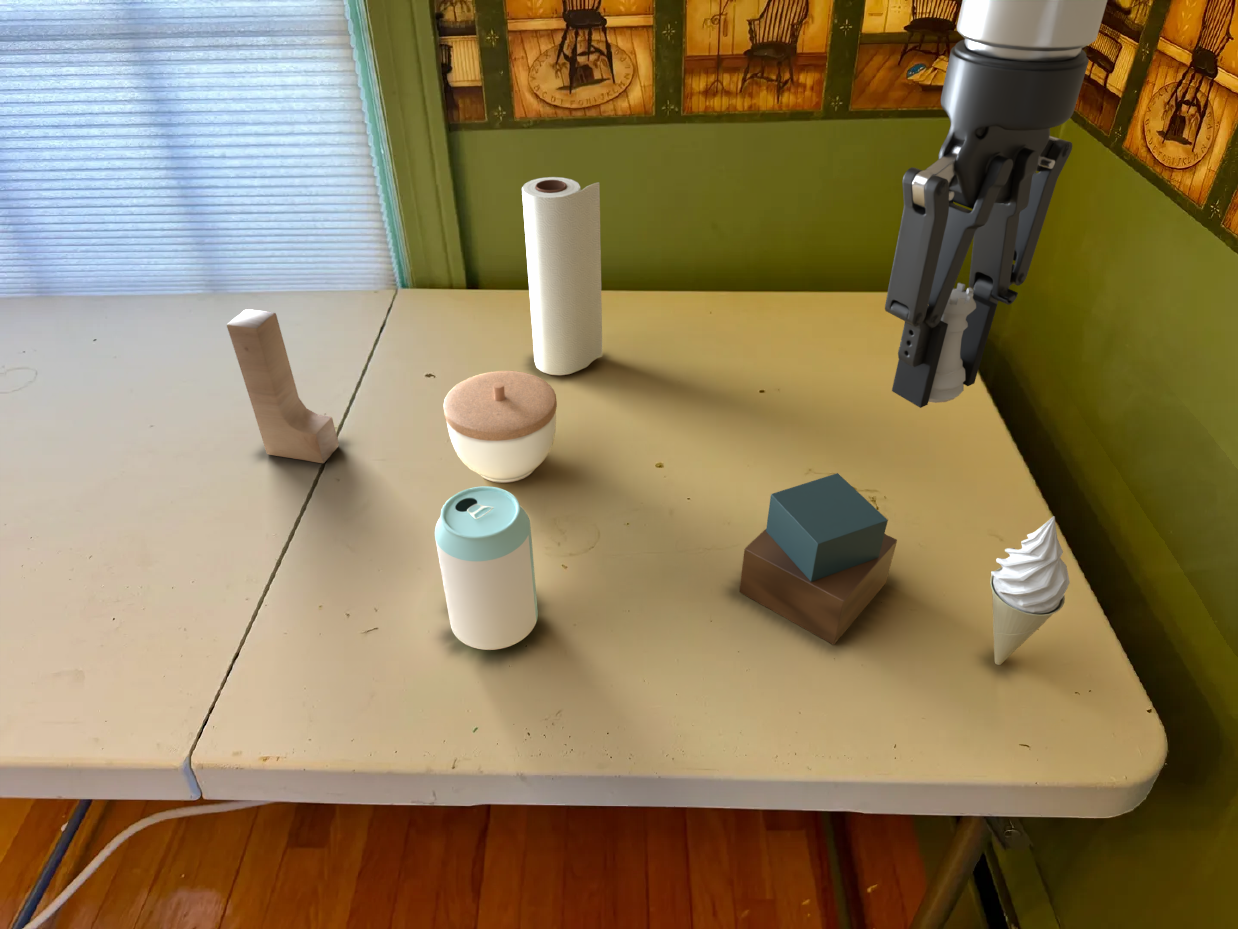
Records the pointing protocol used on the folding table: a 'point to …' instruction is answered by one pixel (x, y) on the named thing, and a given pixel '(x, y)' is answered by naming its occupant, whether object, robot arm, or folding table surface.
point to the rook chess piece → (952, 347)
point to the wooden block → (278, 391)
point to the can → (487, 567)
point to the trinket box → (501, 423)
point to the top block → (825, 526)
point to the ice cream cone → (1027, 589)
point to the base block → (812, 587)
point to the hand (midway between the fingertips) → (933, 386)
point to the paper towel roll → (563, 273)
